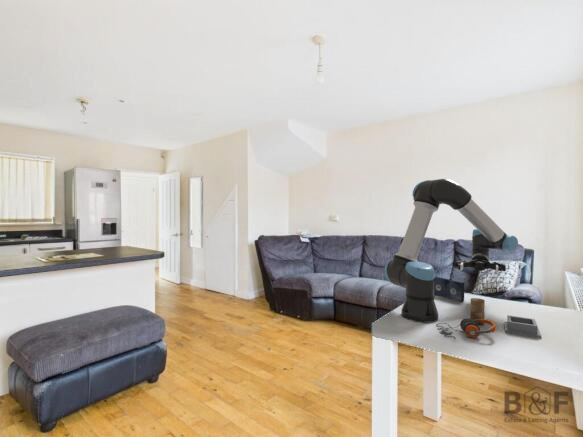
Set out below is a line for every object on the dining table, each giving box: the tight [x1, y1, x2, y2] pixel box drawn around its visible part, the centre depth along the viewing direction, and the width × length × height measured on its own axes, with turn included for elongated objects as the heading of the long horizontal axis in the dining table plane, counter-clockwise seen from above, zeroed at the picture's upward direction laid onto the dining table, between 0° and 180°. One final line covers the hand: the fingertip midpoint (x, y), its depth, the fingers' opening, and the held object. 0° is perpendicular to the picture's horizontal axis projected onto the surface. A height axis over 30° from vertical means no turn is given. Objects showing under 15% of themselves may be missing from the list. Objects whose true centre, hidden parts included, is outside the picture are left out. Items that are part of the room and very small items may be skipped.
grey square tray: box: [503, 315, 542, 339], centre depth 126 cm, size 11×11×4 cm
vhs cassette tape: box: [434, 275, 465, 303], centre depth 173 cm, size 18×3×10 cm, turn 27°
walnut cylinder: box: [469, 297, 486, 327], centre depth 134 cm, size 5×5×10 cm
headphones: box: [436, 317, 497, 340], centre depth 123 cm, size 17×5×20 cm
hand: (478, 269), depth 142 cm, fingers open, 13 cm apart
